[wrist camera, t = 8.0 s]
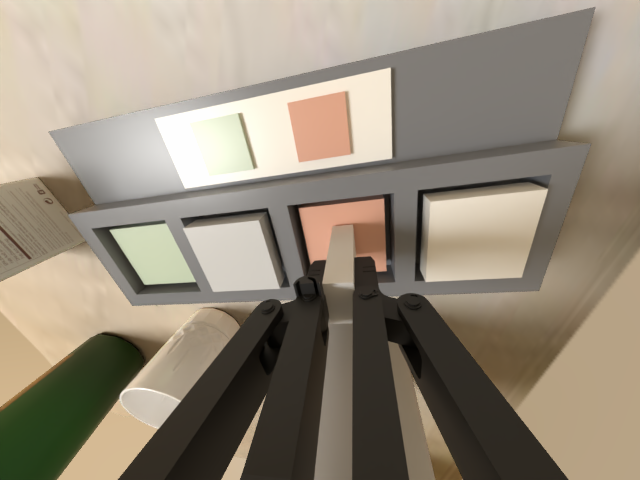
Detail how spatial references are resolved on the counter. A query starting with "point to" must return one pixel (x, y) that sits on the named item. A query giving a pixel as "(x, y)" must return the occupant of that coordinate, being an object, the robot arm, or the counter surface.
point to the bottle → (64, 408)
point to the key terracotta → (348, 211)
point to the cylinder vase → (337, 412)
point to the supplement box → (32, 226)
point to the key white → (479, 231)
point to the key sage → (153, 252)
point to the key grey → (237, 252)
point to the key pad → (343, 155)
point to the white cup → (178, 366)
